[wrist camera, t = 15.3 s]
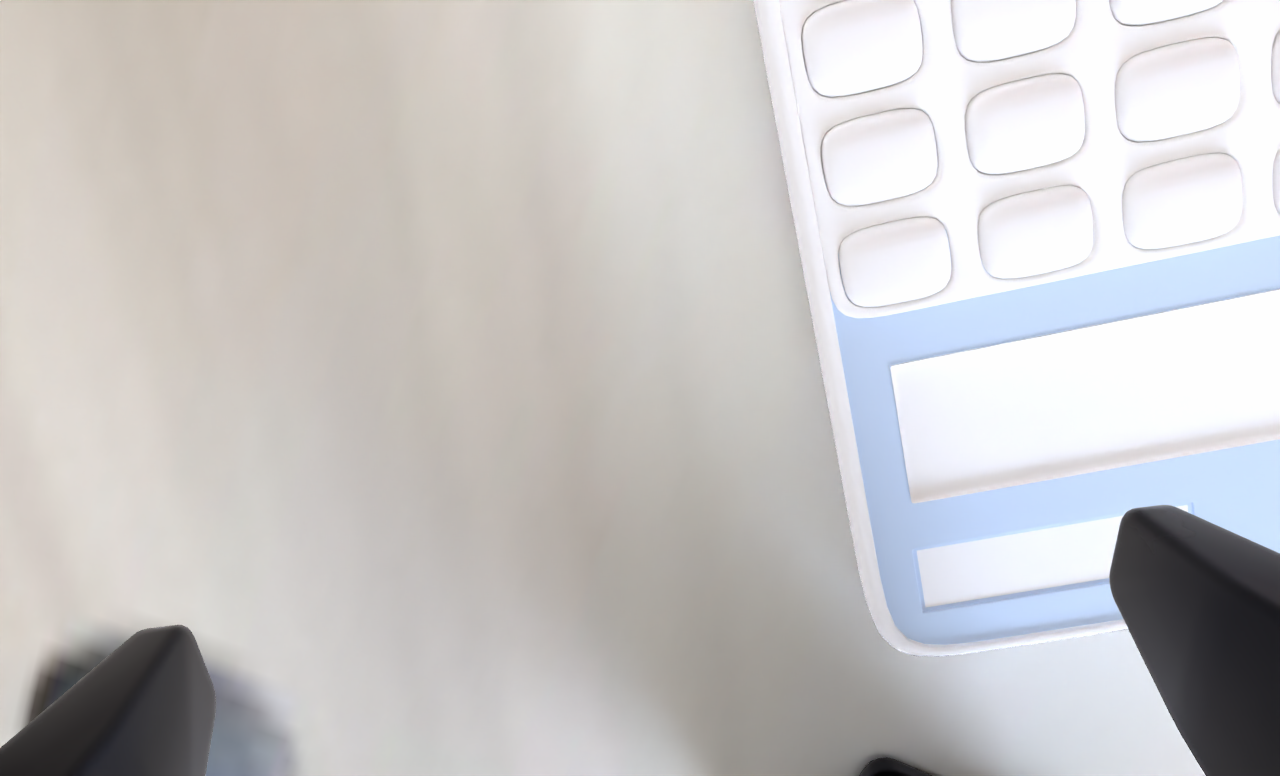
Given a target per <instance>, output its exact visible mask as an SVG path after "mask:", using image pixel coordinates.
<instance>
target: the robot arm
mask: <svg viewBox="0 0 1280 776" xmlns="http://www.w3.org/2000/svg"><path fill="white" fill-rule="evenodd" d="M1109 583H1110V589H1111V592H1112V596H1113V598H1114V601H1115V603H1116V605H1117V607H1118V609H1119V611H1120V613H1121V615H1122V617H1123V619H1124V621H1125V623H1126V625H1127V627H1128V629H1129V631H1130V633H1131V635H1132V637H1133V639H1134V642H1135V644H1136V646H1137V648H1138V650H1139V652H1140V654H1141V656H1142V658H1143V660H1144V662H1145V664H1146V666H1147V668H1148V670H1149V672H1150V674H1151V676H1152V678H1153V680H1154V682H1155V684H1156V686H1157V688H1158V690H1159V692H1160V695H1161V697H1162V699H1163V701H1164V703H1165V705H1166V707H1167V709H1168V711H1169V713H1170V715H1171V717H1172V718H1173V720H1174V722H1175V724H1176V726H1177V728H1178V730H1179V732H1180V733H1181V735H1182V737H1183V739H1184V740H1185V742H1186V744H1187V745H1188V747H1189V749H1190V750H1191V752H1192V754H1193V755H1194V757H1195V759H1196V760H1197V762H1198V763H1199V765H1200V767H1201V768H1202V770H1203V771H1204V773H1205V775H1206V776H1280V553H1278V552H1276V551H1273V550H1271V549H1269V548H1267V547H1264V546H1262V545H1260V544H1258V543H1256V542H1253V541H1251V540H1249V539H1247V538H1244V537H1242V536H1240V535H1238V534H1235V533H1233V532H1231V531H1229V530H1226V529H1224V528H1222V527H1220V526H1217V525H1215V524H1213V523H1211V522H1208V521H1206V520H1204V519H1202V518H1200V517H1197V516H1195V515H1193V514H1191V513H1188V512H1186V511H1184V510H1182V509H1179V508H1177V507H1175V506H1172V505H1156V506H1148V507H1139V508H1133V509H1131V510H1129V511H1127V512H1126V513H1125V514H1124V516H1123V517H1122V519H1121V522H1120V526H1119V531H1118V536H1117V540H1116V545H1115V550H1114V554H1113V559H1112V563H1111V568H1110V575H1109ZM215 713H216V696H215V690H214V687H213V684H212V681H211V678H210V676H209V673H208V671H207V668H206V666H205V663H204V660H203V658H202V655H201V653H200V650H199V648H198V645H197V642H196V640H195V637H194V636H193V634H192V632H191V631H190V630H189V629H188V628H187V627H185V626H182V625H174V626H165V627H157V628H149V629H144V630H141V631H139V632H137V633H136V634H134V635H133V636H131V637H130V638H129V639H128V640H127V641H126V642H124V643H123V644H122V645H121V646H120V647H119V648H117V649H116V650H115V651H114V652H113V653H111V654H110V655H109V656H108V657H107V658H106V659H104V660H103V661H102V662H101V663H100V664H99V665H97V666H96V667H95V668H94V669H93V670H91V671H90V672H89V673H88V674H87V675H86V676H84V677H83V678H82V679H81V680H80V681H79V682H77V683H76V684H75V685H74V686H73V687H72V688H70V689H69V690H68V691H67V692H66V693H64V694H63V695H62V696H61V697H60V698H59V699H57V700H56V701H55V702H54V703H53V704H52V705H50V706H49V707H48V708H47V709H46V710H44V711H43V712H42V713H41V714H40V715H39V716H37V717H36V718H35V719H34V720H33V721H32V722H30V723H29V724H28V725H27V726H26V727H24V728H23V729H22V730H21V731H20V732H19V733H17V734H16V735H15V736H14V737H13V738H12V739H10V740H9V741H8V742H7V743H6V744H5V745H3V746H2V747H1V748H0V776H205V774H206V768H207V762H208V756H209V750H210V744H211V738H212V732H213V726H214V720H215ZM859 776H932V775H930V774H928V773H925V772H923V771H921V770H918V769H916V768H914V767H911V766H909V765H907V764H904V763H902V762H899V761H897V760H895V759H891V758H887V757H886V758H877V759H875V760H873V761H871V762H870V763H869V764H868V765H867V766H866V767H865V768H864V769H863V771H862V772H861V774H860V775H859Z"/></svg>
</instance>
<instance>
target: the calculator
mask: <svg viewBox="0 0 1280 776" xmlns="http://www.w3.org/2000/svg"><path fill="white" fill-rule="evenodd" d="M753 2H754V7H755V13H756V18H757V23H758V29H759V34H760V40H761V45H762V51H763V56H764V61H765V67H766V72H767V78H768V83H769V88H770V94H771V99H772V105H773V110H774V116H775V121H776V126H777V132H778V137H779V143H780V148H781V154H782V159H783V164H784V170H785V175H786V181H787V186H788V191H789V197H790V202H791V208H792V213H793V219H794V224H795V229H796V235H797V240H798V246H799V251H800V256H801V262H802V267H803V273H804V278H805V284H806V289H807V294H808V300H809V305H810V311H811V316H812V322H813V327H814V332H815V338H816V343H817V349H818V354H819V359H820V365H821V370H822V376H823V381H824V387H825V392H826V397H827V403H828V408H829V414H830V419H831V424H832V430H833V435H834V441H835V446H836V452H837V457H838V462H839V468H840V473H841V479H842V484H843V490H844V495H845V500H846V506H847V511H848V517H849V522H850V527H851V533H852V538H853V543H854V548H855V554H856V559H857V564H858V569H859V574H860V578H861V582H862V586H863V590H864V594H865V598H866V602H867V606H868V609H869V611H870V614H871V616H872V618H873V621H874V623H875V625H876V628H877V630H878V632H879V633H880V635H881V636H882V637H883V638H884V639H885V640H886V641H887V642H888V643H889V644H890V645H891V646H892V647H893V648H894V649H896V650H899V651H901V652H904V653H907V654H910V655H913V656H933V657H939V656H949V655H959V654H969V653H975V652H982V651H989V650H996V649H1003V648H1009V647H1016V646H1022V645H1029V644H1035V643H1042V642H1048V641H1055V640H1061V639H1068V638H1074V637H1081V636H1087V635H1094V634H1100V633H1107V632H1114V631H1120V630H1127V629H1128V627H1127V625H1126V623H1125V621H1124V619H1123V617H1122V615H1121V613H1120V611H1119V609H1118V607H1117V605H1116V603H1115V601H1114V598H1113V596H1112V592H1111V589H1110V583H1109V575H1110V568H1111V563H1112V559H1113V554H1114V550H1115V545H1116V540H1117V536H1118V531H1119V526H1120V522H1121V519H1122V517H1123V516H1124V514H1125V513H1126V512H1127V511H1129V510H1131V509H1133V508H1139V507H1148V506H1156V505H1172V506H1175V507H1177V508H1179V509H1182V510H1184V511H1186V512H1188V513H1191V514H1193V515H1195V516H1197V517H1200V518H1202V519H1204V520H1206V521H1208V522H1211V523H1213V524H1215V525H1217V526H1220V527H1222V528H1224V529H1226V530H1229V531H1231V532H1233V533H1235V534H1238V535H1240V536H1242V537H1244V538H1247V539H1249V540H1251V541H1253V542H1256V543H1258V544H1260V545H1262V546H1264V547H1267V548H1269V549H1271V550H1273V551H1276V552H1278V553H1280V0H753Z"/></svg>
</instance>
